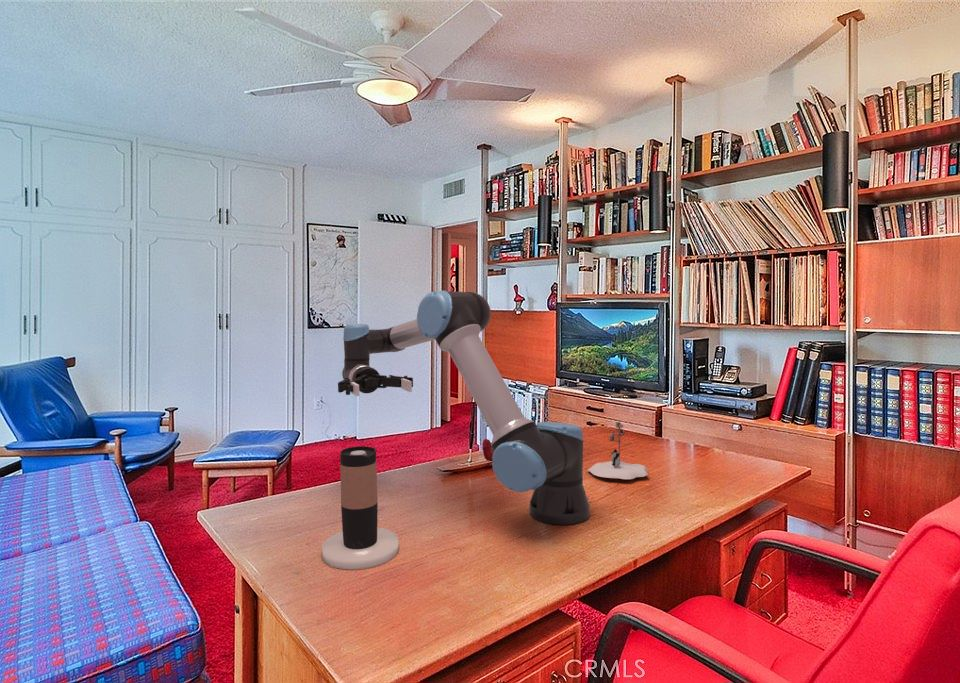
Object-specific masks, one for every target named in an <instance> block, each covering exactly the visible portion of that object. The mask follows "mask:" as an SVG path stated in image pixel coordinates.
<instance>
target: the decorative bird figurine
mask: <svg viewBox="0 0 960 683" xmlns="http://www.w3.org/2000/svg"><path fill="white" fill-rule="evenodd" d="M491 443H492V441H490V439H488V438H484V440H483V441H482V452H483V456H484V459H485V460H486V461H488V462H490V463H489V464H488V467H492V463H493V462H491V461H493V460H492V456H493V453H494V449H493V447H492V446H491Z"/></svg>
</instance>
